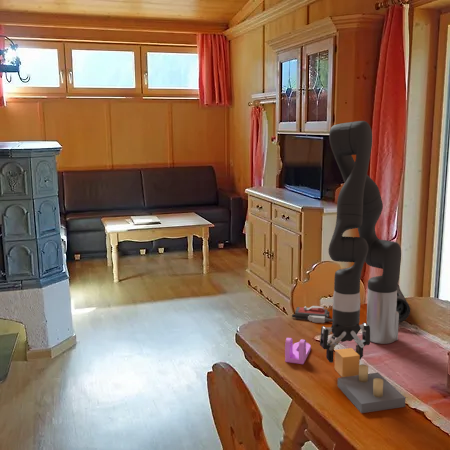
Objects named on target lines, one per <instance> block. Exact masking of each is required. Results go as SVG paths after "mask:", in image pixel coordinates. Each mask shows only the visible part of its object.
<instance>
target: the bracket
mask: <svg viewBox="0 0 450 450" xmlns="http://www.w3.org/2000/svg"><path fill="white" fill-rule="evenodd" d="M285 338H286V339H285V342H284V343H285V344H284V362H285V363H291V364H300V365H304V364H305V362H306V360H307V358H308V357H309V354H310V352H311V349H312V347H311V346H312V345H311V344H310V343H309V342H307V341H306V339H303V338H302V339H300V340H299V341H298V342H293V338H292V337H285Z"/></svg>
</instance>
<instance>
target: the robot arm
mask: <svg viewBox="0 0 450 450" xmlns="http://www.w3.org/2000/svg"><path fill="white" fill-rule="evenodd" d="M328 133H329V136H328V139H329V144H330V148H331V151H332V153H333V154H332V155H333V156H334V159H335V161H336V164H337V167H338V169H339V171H340V174H341V177H342V180H343V182H344V184H343V186H342V187H341V189H340V190H339V194H338V196H337V203H336V221H335V227H334V231H333V234H332V237H331V239H330V243H329V244H328V255H329V258H330V259H331V260H332V261H333V262H339V263H340V262H341V263H353V265H352V266H350V267H347V268H346V267H345V268H340V269H337V270H336V271H335V273H334V281H333V283H334V285H333V288H334V289H333V295H332V317H331V319H332V322H331V327H330V326H329V327H328V326H327V327H326V326H324V325H323V326H321V329H320V339H319V346H321V348H322V349H324V350H326V354H325V356H326V357H325V358H326V360H327V361H328V362H329V363H331V364H332V363H334V355H335V348H336V346H338V345H339V344H340V342H342V343H344V342H352V341H354V342H355V343H356V345H355V352H357V353H358V354H359V355H360V361H361V360H362V358H363V357H364V347H365V346H369V345H370V344H371V342H372V343H375V344H382V345H383V344H384V345H386V344H387V345H388V344H391V343H394V342H395V341H398V340H399V324H400V322H399V313H398V312H397V311H396V307H397V286H398V285H399V281H400V275H401V274H400V273H401V263H402V248H401V245H400V244H399V243H398V242H396V241H391V240H386V239H385V240H384V239H381V238H379V237H378V236H377V233H376V225H377V222H378V221H379V219H380V217H381V214H382V213H383V207H384V206H383V204H384V203H383V201H382V199H383V198H382V196H381V193H380V189H379V186H378V185H377V183H376V181H374V179H372V178H371V177H370V176H369V175H368V170H369V164H370V160H371V159H370V158H371V154H372V148H373V130H372V128H371V125H370V124H369V122H367V121H365V120H358V121H357V120H356V121H350V122H343V123H337V124H334V125H332V126H331V128H330V129H329V132H328ZM353 156H355V160H354V157H353ZM353 229H357V231H358V232H357V233H358V236H343V234H344V233H345V232H346V231H348V230H353ZM364 264H366V265H367V266H368V267H369V266H370V267H372V268H377V269H382V274H381V275H377V276H372V277H371V278H369V279H368V281H367V296H366V297H367V298H366V301H367V302H366V322H362V324H360V320H361V319H360V316H361V313H360V312H361V304H362V303H361V277H362V271H363V268H364ZM360 331H361V333H362V334H361V335H362V336H361V337H362V339H361V338H360V337H359V336H358V334H359V332H360ZM331 333H332V335H331ZM330 335H331V336H330ZM329 336H330V337H329Z"/></svg>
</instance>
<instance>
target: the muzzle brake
mask: <svg viewBox="0 0 450 450" xmlns="http://www.w3.org/2000/svg"><path fill="white" fill-rule="evenodd" d="M396 311H397V312H398V313H399V323H402V322H404V321H406V320H407V319H408V318H409V317H410V314H411V307H410V305H409V302H408V301H407V299H406V297H405V295H404V293H403V292H402V290H401V288H400V285H399V284H398V286H397V307H396Z"/></svg>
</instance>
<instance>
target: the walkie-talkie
mask: <svg viewBox="0 0 450 450" xmlns="http://www.w3.org/2000/svg"><path fill="white" fill-rule="evenodd" d="M329 317H330V311H328V309H327V308H325V307H324V306H323V305H321V306H320V305H312V306H310V307H307V306H306V305H305V306H304V307H300V306H297V307H296V309H295V311H294V314H292V315H291V318H295V319H296V320H303V319H304V320H305V321H309V322H311V321H312V322H311V323H315V324H316V323H319V324H325V323H328V322H329V323H333V322H332V318H329ZM304 320H303V321H304Z"/></svg>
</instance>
